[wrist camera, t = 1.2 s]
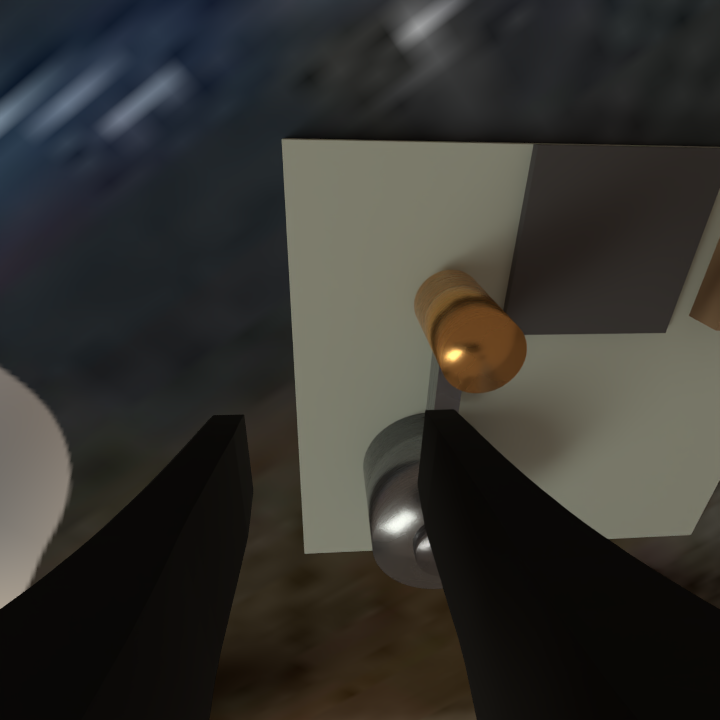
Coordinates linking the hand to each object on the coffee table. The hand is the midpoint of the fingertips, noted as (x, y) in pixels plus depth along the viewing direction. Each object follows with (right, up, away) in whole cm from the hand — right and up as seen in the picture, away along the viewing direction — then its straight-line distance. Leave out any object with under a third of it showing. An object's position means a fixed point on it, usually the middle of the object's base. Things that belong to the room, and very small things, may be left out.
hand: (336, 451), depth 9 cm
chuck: (+4, -3, +12) cm, 13 cm away
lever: (+4, +2, +9) cm, 10 cm away
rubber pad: (+10, +6, +8) cm, 14 cm away
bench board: (+9, +1, +11) cm, 14 cm away
